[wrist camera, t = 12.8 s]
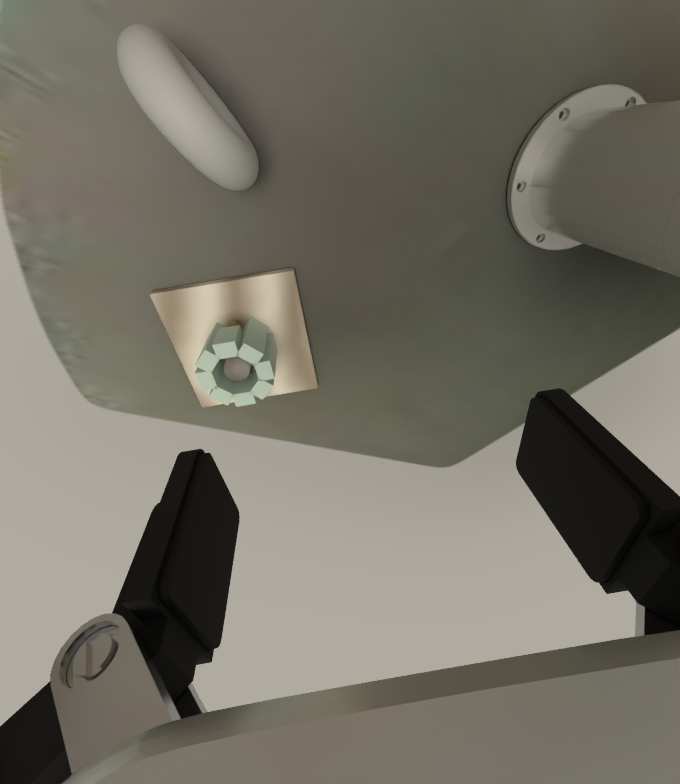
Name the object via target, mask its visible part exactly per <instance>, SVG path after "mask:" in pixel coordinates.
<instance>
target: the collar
mask: <svg viewBox="0 0 680 784" xmlns="http://www.w3.org/2000/svg"><path fill="white" fill-rule="evenodd" d="M267 331H268V326H267V325H265V324H264V323H262V322H260V321H259V320H257V319H255V318H254V317H252V316H251V317H250V319H249V320H248V322H247V323H246V325H245V326H244V329H243V332H242V331H241V328H240V325H237V326H231V327H225V326H224V325H222V324H220V323H218V322H217V323H216V324H215V326H214V328H213V329H212V331H211V333H210V334H209V336H208V338H207V340H206V343H205V345H204V347H203V349H202V351H201V354H200V356H199V358H198V360H197V362H196V365H195V366H196V367H197V369H196V371H195V375H196V378H197V380H198V382H199V384H200V386H201V389H202V391H205V390H211V391H210V394H209V397H210V398H212V399H215V400H217V401H219V402H221V403H223V404H225V405H227V406H228V404H229V403H230V402H231V400H232V399H233V400H234V402H235V405H236V407H238V406H244V405H250V404H256V401H257V397H259V398H261V399H264V398H265V396H266V395H267V394H268V392H269V391H270V390H271V388H272V387H273V385H274V379H275V371H276V360H277V345H276V341H275V338H274V334H273V332H272V333H267ZM237 356H238V357H240V358H242V359H244V360H246V361H247V362H249V363H251V364H253V365H254V371H253V373H251V374H249V375H248V377H247V378H246V379H244V380H242V381H234V380H231V379H229V378H228V377H227V376H226V375H225V373H224V365H225V362H226V359H227V358H231V357H237Z"/></svg>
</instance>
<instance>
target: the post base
mask: <svg viewBox="0 0 680 784" xmlns="http://www.w3.org/2000/svg"><path fill="white" fill-rule="evenodd" d="M150 296H151V298H152V300H153V302H154V305H155V307H156V309H157V311H158V313H159V315H160V318H161V320H162V322H163V324H164V326H165V328H166V330H167V333H168V335H169V337H170V339H171V341H172V343H173V345H174V348H175V350H176V352H177V354H178V356H179V358H180V361H181V363H182V365H183V367H184V369H185V371H186V373H187V376H188V378H189V380H190V382H191V384H192V386H193V388H194V391H195V393H196V395H197V397H198V399H199V401H200V404H201V406H202V407H208V406H213V405H219V404H223V403H221V402H219V401H217V400H215V399H212V398H210V397H209V394H210V391H211V390H205V391H202V389H201V386H200V384H199V382H198V380H197V378H196V375H195V371H196V369H197V367H196V366H195V365H196V362H197V360H198V358H199V356H200V354H201V351H202V349H203V347H204V345H205V343H206V340H207V338H208V336H209V334H210V333H211V331H212V329H213V328H214V326H215V324H216V323H217V322H218V323H220V324H222V325H224V326H225V327H231V326H237V325H240V328H241V331H242V332H243V329H244V326H245V325H246V323H247V322H248V320H249V319H250V317H251V316H252V317H254V318H255V319H257V320H259V321H260V322H262V323H264V324H265V325H267V326H268V331H267V333H272V332H273V334H274V338H275V341H276V345H277V360H276V371H275V379H274V385H273V387H272V388H271V390H270V391H269V392H268V394H267V395H266V396H265V397H267V396H273V395H279V394H285V393H291V392H297V391H303V390H309V389H315V388H318V383H317V378H316V373H315V368H314V363H313V359H312V354H311V349H310V344H309V339H308V334H307V330H306V325H305V320H304V315H303V310H302V305H301V301H300V296H299V291H298V286H297V281H296V276H295V272H294V267H293V268H287V269H281V270H275V271H269V272H263V273H257V274H251V275H245V276H239V277H233V278H227V279H221V280H215V281H209V282H203V283H197V284H191V285H185V286H179V287H173V288H167V289H161V290H155V291H152V292H151V293H150ZM253 371H254V365H253V364H251V363H249V362H247V361H246V360H244V359H242V358H240V357H238V356H237V357H231V358H227V359H226V362H225V365H224V373H225V375H226V376H227V377H228V378H229V379H231V380H234V381H242V380H244V379H246V378H247V377H248V375H249V374H251V373H253ZM257 398H259V397H257ZM231 402H234V400H233V399H232V400H231ZM231 402H230V403H231Z"/></svg>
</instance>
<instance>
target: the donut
mask: <svg viewBox="0 0 680 784" xmlns="http://www.w3.org/2000/svg"><path fill="white" fill-rule="evenodd" d="M117 57H118V63H119V68H120V72H121V75H122V77H123V78H124V80H125V82H126V84H127V86H128V88H129V90H130V91H131V93H132V95H133V97H134V98H135V100H136V101H137V102H138V104H139V105H140V107H141V108H142V109H143V111H144V112H145V113H146V115H147V116H148V117H149V118H150V120H151V121H152V122H153V123H154V124H155V126H156V127H157V128H158V129H159V130H160V131H161V133H162V134H163V135H164V136H165V137H166V138H167V139H168V140H169V141H170V143H171V144H172V145H173V146H174V147H175V148H176V149H177V150H178V151H179V152H180V153H181V154H182V155H183V156H184V157H185V158H186V159H187V160H188V161H189V162H190V163H191V164H192V165H194V166H195V167H196V168H197V169H198V170H199V171H200V172H201V173H203V174H204V175H205V176H206V177H208V178H209V179H210V180H211V181H213V182H215V183H217V184H218V185H220V186H222V187H224V188H226V189H229V190H238V191H241V190H245V189H247V188H249V187H250V186H252V185H253V183H254V182H255V180H256V179H257V175H258V172H259V163H258V157H257V153H256V150H255V149H254V147H253V145H252V143H251V141H250V140H249V138H248V137H247V135H246V134H245V132H244V130H243V129H242V127H241V126H240V125H239V123H238V122H237V120H236V119H235V117H234V116H233V115H232V113H231V112H230V111H229V109H228V108H227V107H226V105H225V104H224V103H223V101H222V100H221V99H220V98H219V96H218V95H217V94H216V92H215V91H214V90H213V89H212V87H211V86H210V85H209V84H208V82H207V81H206V80H205V79H204V78H203V76H202V75H201V74H200V73H199V72H198V70H197V69H196V68H195V67H194V66H193V65H192V64H191V62H190V61H189V60H188V59H187V58H186V57H185V56H184V55H183V54H182V53H181V51H180V50H179V49H178V48H177V47H176V46H175V45H174V44H173V43H172V42H171V41H170V40H169V39H168V38H167V37H166V36H164V35H163V34H162V33H161V32H159V31H157V30H156V29H154V28H152V27H149V26H146V25H140V24H135V25H131V26H128V27H127V28H126V29H124V30H123V31H122V32H121V34H120V37H119V39H118V41H117Z"/></svg>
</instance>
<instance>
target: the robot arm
mask: <svg viewBox="0 0 680 784" xmlns="http://www.w3.org/2000/svg"><path fill="white" fill-rule="evenodd" d="M559 114H560V117H559ZM518 184H519V186H518V188H517V189H516V187H517V185H518ZM507 207H508V212H509V218H510V220H511V222H512V225H513V227H514V229H515V230H516V232H517V233H518V234H519V236H520V237H521V238H523V239H524V240H525V241H526V242H528V243H529V244H532V245H534V246H536V247H539V248H542V249H546V250H563V249H569V248H572V247H575V246H578V245H581V244H586V245H588V246H591V247H594V248H597V249H600V250H603V251H606V252H609V253H611V254H614V255H617V256H620V257H623V258H626V259H629V260H632V261H634V262H637V263H640V264H643V265H646V266H649V267H652V268H655V269H657V270H660V271H663V272H666V273H669V274H672V275H675V276H678V277H680V100H676V101H667V102H658V103H650V104H647V102H646V101H645V100H644V99H643V97H642V96H641V95H640V94H639V93H637V92H636V91H634V90H633V89H631V88H630V87H626V86H622V85H618V84H608V85H599V86H594V87H589V88H586V89H584V90H581V91H579V92H576V93H574V94H572V95H570V96H569V97H567V98H565V99H564V100H562V101H561V102H559V103H558V104H557V105H555V106H554V107H553V108H552V109H551V110H550V111H549V112H547V113H546V114H545V115H544V116H543V117H542V119H541V120H540V121H539V122H538V123H537V124H536V125H535V127H534V128H533V129H532V131H531V132H530V134H529V135H528V137H527V138H526V140H525V141H524V143H523V144H522V146H521V148H520V151H519V153H518V155H517V157H516V159H515V161H514V164H513V167H512V171H511V174H510V178H509V183H508V189H507ZM516 467H517V470H518V472H519V474H520V475H521V477H522V478H523V480H524V481H525V483H526V484H527V486H528V487H529V489H530V490H531V492H532V493H533V494H534V496H535V498H536V499H537V501H538V502H539V503H540V505H541V506H542V508H543V509H544V511H545V512H546V514H547V515H548V517H549V518H550V520H551V521H552V523H553V524H554V525H555V527H556V529H557V530H558V532H559V533H560V535H561V536H562V537H563V539H564V540H565V542H566V543H567V545H568V546H569V548H570V549H571V551H572V552H573V554H574V555H575V557H576V558H577V559H578V561H579V563H580V564H581V566H582V567H583V568H584V570H585V571H586V573H587V574H588V576H589V577H590V578H591V579H592V580H593V581H595V582H599V583H600V585H601V586H602V588H603V589H604V590H605V592H606V593H607V594H609V593H615V592H621V591H627V590H628V591H629V592H630V593H631V595H632V596H633V597H634V599H635V600H636V629H635V630H636V631H635V637H631V638H624V639H618V640H612V641H606V642H600V643H594V644H588V645H582V646H576V647H570V648H565V649H558V650H552V651H546V652H540V653H534V654H528V655H523V656H516V657H511V658H505V659H499V660H493V661H488V662H482V663H476V664H470V665H465V666H459V667H453V668H447V669H441V670H435V671H430V672H424V673H419V674H412V675H407V676H401V677H395V678H389V679H384V680H378V681H373V682H368V683H361V684H356V685H350V686H344V687H339V688H333V689H328V690H322V691H316V692H311V693H305V694H300V695H294V696H289V697H283V698H277V699H272V700H267V701H262V702H257V703H252V704H247V705H242V706H237V707H232V708H226V709H222V710H217V711H212V712H207V711H206V709H205V707H204V705H203V703H202V702H201V700H200V698H199V696H198V695H197V693H196V691H195V689H194V687H193V685H192V683H191V682H192V681H193V678H194V673H195V667H196V665H198V664H204V663H209V662H212V657H213V650H214V649H215V648H218V647H219V645H220V642H221V638H222V631H223V625H224V618H225V612H226V605H227V599H228V592H229V585H230V579H231V572H232V565H233V559H234V552H235V545H236V539H237V532H238V526H239V511H238V508H237V506H236V504H235V502H234V500H233V498H232V496H231V494H230V492H229V490H228V488H227V486H226V484H225V482H224V480H223V478H222V476H221V474H220V472H219V470H218V468H217V466H216V464H215V462H214V460H213V458H212V456H211V454H210V453H205V452H204V451H203V450H202V449H197V450H191V451H185V452H181V453H179V455H178V457H177V459H176V462H175V464H174V467H173V470H172V472H171V475H170V478H169V481H168V483H167V485H166V488H165V491H164V493H163V496H162V499H161V501H160V503H158V504H157V505H156V506H155V507H154V509H153V511H152V513H151V515H150V518H149V520H148V523H147V526H146V528H145V531H144V533H143V536H142V538H141V541H140V543H139V546H138V548H137V551H136V554H135V556H134V559H133V561H132V564H131V566H130V569H129V571H128V574H127V577H126V579H125V582H124V584H123V587H122V589H121V592H120V594H119V597H118V600H117V602H116V605H115V607H114V610H113V612H112V613H111V614H103V615H100V616H98V617H95V618H93V619H91V620H90V621H88V622H87V623H85V624H84V625H82V626H81V627H80V628H79V629H78V630H77V631H76V632H75V633H73V634H72V635H71V637H70V638H69V639H68V640H67V642H66V643H65V644H64V645H63V647H62V648H61V650H60V651H59V654H58V655H57V657H56V659H55V661H54V664H53V667H52V671H51V675H50V677H51V681H50V682H49V683H48V684H47V685H46V686H45V687H43V688H42V689H41V690H40V691H39V692H38V693H37V694H36V695H35V696H33V697H32V698H31V699H30V700H29V701H28V702H27V703H26V704H25V705H24V706H22V707H21V708H20V709H19V710H18V711H17V712H16V713H15V714H14V715H13V716H11V717H10V718H9V719H8V720H7V721H6V722H5V723H4V724H3V725H1V726H0V784H680V496H678V495H677V494H676V493H675V492H674V491H673V490H672V489H671V488H670V487H669V486H667V485H666V484H665V483H664V482H663V481H662V480H661V479H660V478H659V477H658V476H657V475H655V473H653V472H652V471H651V470H650V469H649V468H648V467H647V466H646V465H645V464H644V463H643V462H641V461H640V460H639V459H638V458H637V457H636V456H635V455H634V454H633V453H632V452H631V451H629V450H628V449H627V448H626V447H625V446H624V445H623V444H622V443H621V442H620V441H619V440H617V439H616V438H615V437H614V436H613V435H612V434H611V433H609V431H608V430H607V429H606V428H605V427H603V426H602V425H601V424H600V423H599V422H598V421H597V420H596V419H595V418H594V417H593V416H591V415H590V414H589V413H588V412H587V411H586V410H585V409H584V408H583V407H582V406H581V405H580V404H578V403H577V402H576V401H575V400H574V399H573V398H572V397H571V396H570V395H569V394H568V393H566V392H565V391H564V390H563V389H559V388H558V389H552V390H547V391H541V392H538V393H537V394H536V396H535V398H532V399H531V401H530V405H529V409H528V413H527V417H526V421H525V426H524V430H523V434H522V438H521V443H520V447H519V451H518V455H517V460H516Z"/></svg>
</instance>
